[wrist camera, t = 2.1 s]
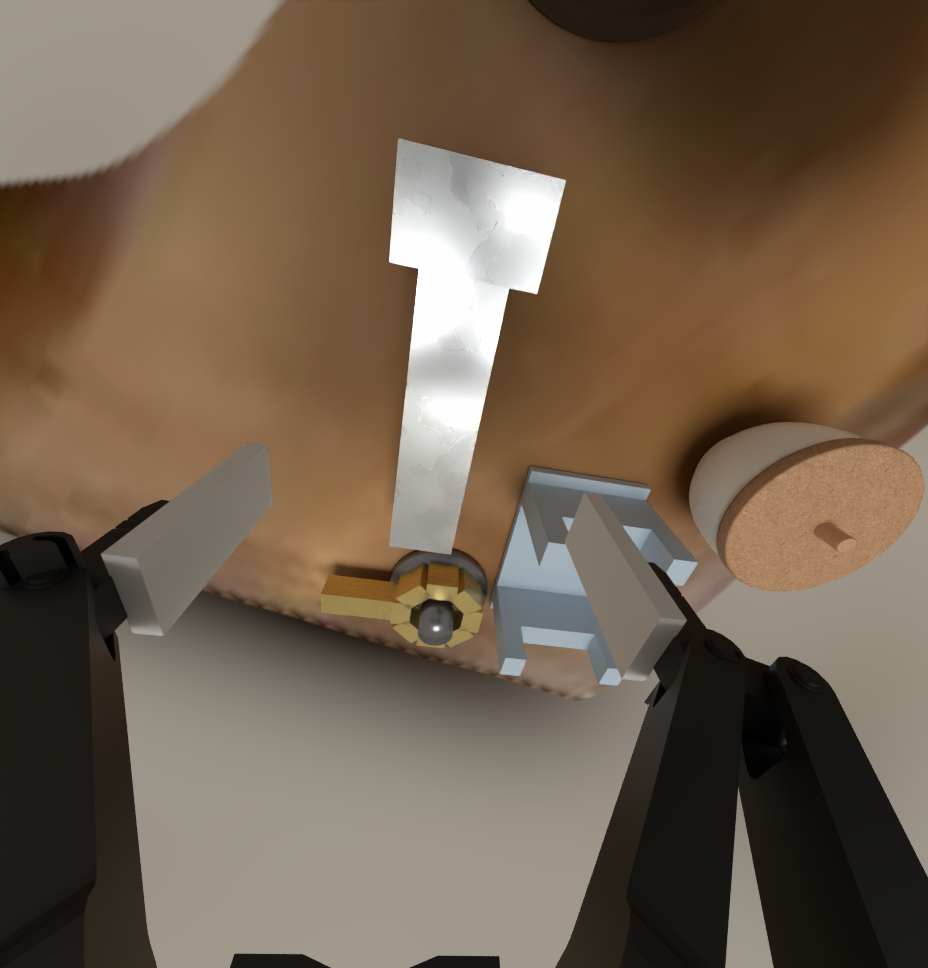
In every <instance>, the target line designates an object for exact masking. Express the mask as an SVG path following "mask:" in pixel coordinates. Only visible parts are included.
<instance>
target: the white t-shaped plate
mask: <svg viewBox="0 0 928 968" xmlns="http://www.w3.org/2000/svg"><path fill="white" fill-rule="evenodd" d="M565 183H566V180H563V179H559V178H555V177H551V176H547V175H543V174H539V173H535V172H531V171H527V170H523V169H519V168H515V167H511V166H508V165H504V164H500V163H496V162H492V161H488V160H484V159H480V158H476V157H472V156H468V155H464V154H460V153H456V152H452V151H448V150H444V149H440V148H436V147H432V146H428V145H424V144H420V143H416V142H412V141H408V140H404V139H400V138H398V147H397V161H396V175H395V188H394V202H393V216H392V230H391V244H390V258H389V262H390V263H394V264H398V265H403V266H407V267H412V268H416V269H419V273H418V282H417V291H416V301H415V310H414V319H413V329H412V338H411V347H410V356H409V366H408V375H407V384H406V394H405V403H404V412H403V421H402V431H401V440H400V449H399V459H398V468H397V477H396V487H395V496H394V505H393V514H392V524H391V533H390V542H389V546H392V547H399V548H406V549H414V550H421V551H428V552H435V553H443V554H450V555H451V552H452V547H453V543H454V538H455V534H456V529H457V525H458V520H459V515H460V511H461V506H462V502H463V497H464V493H465V488H466V484H467V479H468V474H469V470H470V465H471V461H472V456H473V452H474V447H475V442H476V438H477V433H478V429H479V424H480V420H481V415H482V411H483V406H484V401H485V397H486V392H487V388H488V383H489V379H490V374H491V370H492V365H493V360H494V356H495V351H496V347H497V342H498V338H499V333H500V328H501V324H502V319H503V315H504V310H505V306H506V301H507V297H508V292H509V289H514V290H518V291H523V292H528V293H533V294H537V293H538V289H539V285H540V281H541V277H542V273H543V269H544V265H545V261H546V257H547V254H548V250H549V246H550V242H551V238H552V234H553V230H554V226H555V222H556V218H557V214H558V210H559V206H560V202H561V199H562V195H563V191H564V187H565Z"/></svg>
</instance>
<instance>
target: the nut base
mask: <svg viewBox="0 0 928 968" xmlns="http://www.w3.org/2000/svg"><path fill="white" fill-rule="evenodd" d="M429 562H437V563H445V564H452V565H458V571H460V570H462V569H463V568H465V569H466V570H467V571H468V572H469V574H470V575H471V576H472V577H473V578H474V579H475V580H476V581H477V582H478V583H479V584H480V587H481V590H482V602H483V604H484V602H485V600H486V596H487V581H486V576H485V573H484V571H483V569H482V567H481V566H480V564H479V563H478V562H477V561H476V560H475V559H473V558H472V557H471V556H469V555H467V554H466V553H464V552H461V551H459V550H456V549H452V552H451V555H450V554H443V553H435V552H428V551H421V550H416V551H413V552H411V553H409V554H408V555H406V556H405V557H403V558H402V559H401V560H400V561H399V562H398V563H397V564H396V566H395V567H394V569H393V571H392V574H391V578H390V582H396V583H397V580H400V575H402V574H404V573H406V572H407V571H409V570H411V569H413V568H414V567H416V566H418V565H420V564H422V563H424V564H425V565H426V566H427V567H428V568H429ZM419 605H420V606H421V611H420V619H419V628H418V637H419V639H420V640H421V641H422V642H424V643H425V644H428V645H433V646H438V645H443V644H446V643H447V642H449V641H450V640H451V638H452V635H453V608H454V607H456V606H455V605H454V604H453V603H452V602H451V601H444V600H436V599H427V600H426V601H424V602H422V603H420V604H419Z"/></svg>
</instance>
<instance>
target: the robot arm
mask: <svg viewBox="0 0 928 968" xmlns="http://www.w3.org/2000/svg"><path fill="white" fill-rule="evenodd" d="M530 1H531V2H532V3H533V4H534V5H535V6H536V7H537V8H538V9H539V10H541V11H542V12H543V13H544V14H545V15H546V16H548V17H549V18H550V19H552V20H553V21H554V22H556V23H557V24H559V25H561V26H562V27H564V28H565V29H567V30H569V31H572V32H574V33H576V34H578V35H581V36H584V37H587V38H590V39H595V40H600V41H608V42H628V41H636V40H641V39H646V38H650V37H653V36H656V35H659V34H662V33H664V32H667V31H669V30H671V29H674V28H676V27H678V26H679V25H681V24H683V23H685V22H687V21H689V20H690V19H692V18H693V17H695V16H696V15H698V14H699V13H701V12H702V11H704V10H705V9H706V8H708V7H709V6H710V5H712V4H713V3H714V2H715V1H717V0H530ZM272 505H273V497H272V487H271V477H270V466H269V456H268V445H262V444H255V443H248V442H247V443H246V444H244V445H243V446H242V447H240V448H239V449H238V450H236V451H235V452H234V453H233V454H231V455H230V456H229V457H227V458H226V459H225V460H223V461H222V462H221V463H219V464H218V465H217V466H215V467H214V468H213V469H212V470H210V471H209V472H208V473H206V474H205V475H204V476H202V477H201V478H200V479H198V480H197V481H196V482H194V483H193V484H192V485H191V486H189V487H188V488H187V489H185V490H184V491H183V492H181V493H180V494H179V495H177V496H176V497H175V498H173V499H172V500H171V501H166V500H160V501H158V502H155V503H153V504H150V505H148V506H146V507H143V508H141V509H140V510H139V511H137V512H136V513H134V514H133V515H132V516H130V517H129V518H128V520H127V521H126V520H125V521H123V522H122V523H120V524H119V525H118V526H116V528H115V529H112V530H111V531H109V532H108V533H106V534H105V535H104V536H102V537H101V538H99V539H98V540H97V541H95V542H94V543H92V544H91V545H90V546H88V547H87V548H85V549H84V550H83V551H81V552H80V551H79V548H78V546H77V544H76V542H75V540H74V538H73V536H72V535H70V534H67V533H64V532H51V531H50V532H42V533H34V534H30V535H26V536H23V537H19V538H16V539H13V540H11V541H9V542H6V543H4V544H2V545H0V968H157V966H156V961H155V958H154V955H153V951H152V948H151V945H150V941H149V936H148V931H147V923H146V914H145V903H144V893H143V883H142V873H141V864H140V853H139V843H138V834H137V825H136V814H135V803H134V793H133V783H132V773H131V763H130V754H129V744H128V733H127V723H126V713H125V703H124V693H123V683H122V673H121V663H120V653H119V643H118V637H117V635H116V633H115V630H116V629H117V628H118V626H119V625H120V624H121V623H122V622H123V621H124V620H125V619H126V618H127V620H128V623H129V625H130V628H131V630H132V632H133V633H136V634H147V635H158V636H164V635H165V633H166V632H167V631H168V630H169V629H170V627H171V626H172V625H173V624H174V623H175V621H176V620H177V619H178V618H179V617H180V615H181V614H182V613H183V612H184V610H185V609H186V608H187V607H188V606H189V604H190V603H191V602H192V601H193V600H194V599H195V597H196V596H197V595H198V594H199V592H200V591H201V590H202V589H203V588H204V587H205V585H206V584H207V583H208V582H209V580H210V579H211V578H212V577H213V576H214V574H215V573H216V572H217V571H218V570H219V568H220V567H221V566H222V565H223V564H224V562H225V561H226V560H227V559H228V558H229V556H230V555H231V554H232V553H233V552H234V550H235V549H236V548H237V547H238V546H239V544H240V543H241V542H242V541H243V539H244V538H245V537H246V536H247V535H248V533H249V532H250V531H251V530H252V529H253V527H254V526H255V525H256V524H257V523H258V521H259V520H260V519H261V518H262V517H263V515H264V514H265V513H266V512H267V511H268V509H269V508H270V507H271V506H272ZM565 544H566V547H567V549H568V552H569V554H570V556H571V559H572V561H573V563H574V566H575V568H576V571H577V573H578V575H579V578H580V580H581V583H582V585H583V587H584V590H585V592H586V595H587V597H588V599H589V602H590V604H591V607H592V609H593V611H594V614H595V616H596V619H597V621H598V623H599V626H600V628H601V631H602V633H603V635H604V638H605V640H606V643H607V645H608V647H609V650H610V652H611V655H612V657H613V659H614V662H615V664H616V666H617V669H618V671H619V674H620V676H621V678H622V679H628V680H639V681H645V680H646V679H647V677H648V676H649V675H650V673H651V672H652V670H653V669H654V670H655V672H656V674H657V676H658V678H659V680H660V681H659V683H658V684H657V685H656V687H655V688H654V690H653V691H652V692H651V694H650V695H649V696H648V698H647V699H646V701H645V703H646V704H649V703H650V704H649V707H648V710H647V713H646V715H645V718H644V721H643V724H642V727H641V730H640V734H639V736H638V739H637V742H636V746H635V748H634V752H633V754H632V757H631V761H630V763H629V766H628V769H627V772H626V775H625V778H624V781H623V784H622V787H621V790H620V793H619V796H618V799H617V802H616V805H615V808H614V811H613V814H612V817H611V820H610V823H609V826H608V828H607V831H606V835H605V837H604V841H603V843H602V846H601V850H600V852H599V856H598V858H597V861H596V864H595V867H594V870H593V874H592V876H591V879H590V882H589V885H588V888H587V891H586V894H585V897H584V900H583V903H582V906H581V909H580V912H579V915H578V918H577V921H576V924H575V927H574V930H573V932H572V935H571V938H570V940H569V942H568V945H567V947H566V949H565V951H564V953H563V954H562V956H561V958H560V960H559V961H558V963H557V966H556V968H725V962H726V948H727V934H728V920H729V905H730V892H731V878H732V863H733V849H734V837H735V836H734V835H735V823H736V809H737V794H738V787H739V792H740V797H741V802H742V807H743V812H744V817H745V822H746V827H747V833H748V838H749V843H750V848H751V853H752V859H753V864H754V869H755V874H756V879H757V884H758V889H759V894H760V899H761V905H762V910H763V915H764V920H765V925H766V930H767V936H768V941H769V945H770V951H771V956H772V961H773V966H774V968H928V877H927V875H926V873H925V871H924V869H923V867H922V865H921V863H920V861H919V859H918V857H917V855H916V853H915V851H914V849H913V847H912V845H911V843H910V841H909V839H908V837H907V835H906V833H905V831H904V829H903V827H902V825H901V823H900V822H899V819H898V817H897V815H896V813H895V812H894V810H893V808H892V805H891V803H890V801H889V799H888V798H887V795H886V794H885V792H884V790H883V788H882V786H881V784H880V782H879V780H878V778H877V776H876V774H875V772H874V770H873V768H872V766H871V764H870V762H869V760H868V758H867V756H866V754H865V752H864V750H863V748H862V746H861V744H860V742H859V740H858V738H857V736H856V734H855V732H854V730H853V728H852V726H851V724H850V722H849V720H848V718H847V716H846V714H845V712H844V710H843V708H842V706H841V704H840V702H839V700H838V698H837V696H836V694H835V692H834V691H833V689H832V688H831V686H830V685H829V683H827V682H826V680H825V679H823V678H822V677H821V676H820V674H819V673H817V672H816V671H815V670H813V669H812V668H811V667H809V666H807V665H805V664H803V663H801V662H799V661H797V660H795V659H792V658H789V657H779V658H778V659H777V660H776V661H775V662H774V663H773V664H772V665H771V666H768V665H765V664H762V663H760V662H757V661H754V660H751V659H748V658H746V657H745V656H744V655H743V653H742V652H741V650H740V649H739V648H738V647H737V646H736V645H735V644H734V643H733V642H732V641H731V640H729V639H728V638H726V637H725V636H723V635H722V634H720V633H717V632H715V631H713V630H709V629H706V627H705V626H704V624H703V623H702V622H701V620H700V619H699V618H698V616H697V615H696V613H695V612H694V611H693V609H692V608H691V606H690V605H689V604H688V602H687V601H686V600H685V598H684V597H683V596H681V595H682V594H681V593H680V591H679V590H678V588H677V587H675V584H674V583H673V582H672V580H671V579H670V577H669V576H668V575H667V573H666V572H664V571H663V570H662V569H661V568H660V567H659V566H657V565H656V564H655V563H652V562H647V561H646V559H645V558H644V557H643V555H642V554H641V552H640V551H639V549H638V548H637V546H636V545H635V543H634V542H633V540H632V539H631V538H630V536H629V535H628V533H627V532H626V530H625V529H624V527H623V526H622V524H621V523H620V521H619V520H618V519H617V517H616V516H615V514H614V513H613V511H612V510H611V508H610V507H609V505H608V504H607V502H606V501H605V499H604V498H603V497H602V495H600V494H593V493H587V492H584V494H583V497H582V499H581V502H580V505H579V507H578V510H577V512H576V515H575V517H574V520H573V522H572V525H571V527H570V530H569V532H568V535H567V538H566V540H565ZM499 962H500V961H499V956H436V957H434V958H432V959H429V960H427V961H425V962H422V963H420V964H418V965H415V966H413V967H410V968H500V963H499ZM230 968H330V967H328V966H326V965H324V964H322V963H320V962H318V961H316V960H314V959H312V958H310V957H307V956H305V955H303V954H234V957H233V961H232V963H231V966H230Z"/></svg>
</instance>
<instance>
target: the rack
mask: <svg viewBox="0 0 928 968" xmlns="http://www.w3.org/2000/svg"><path fill="white" fill-rule="evenodd" d="M650 491H651V489H650V488H649V486H648V485H647V484H641V483H635V482H628V481H622V480H615V479H609V478H603V477H596V476H590V475H583V474H577V473H571V472H564V471H558V470H551V469H545V468H539V467H532V466H530V468H529V471H528V475H527V478H526V481H525V485H524V488H523V491H522V495H521V498H520V501H519V505H518V508H517V511H516V515H515V518H514V521H513V525H512V528H511V531H510V535H509V538H508V541H507V545H506V548H505V551H504V555H503V558H502V561H501V565H500V568H499V571H498V575H497V578H496V581H495V585H494V588H493V591H492V595H491V598H490V601H489V602H490V608H492V609H493V613H494V623H495V633H496V643H497V653H498V663H499V673H500V674H505V675H516V676H520V674H521V672H522V670H523V667H524V665H525V662H526V654H525V648H524V643H530V644H540V645H549V646H558V647H567V648H577V649H586V650H587V651H588V654H589V657H590V660H591V663H592V666H593V669H594V672H595V675H596V678H597V681H598V683H599V684H607V685H618V684H619V683H620V681H621V680H622V678H621V676H620V674H619V671H618V669H617V666H616V664H615V662H614V659H613V657H612V655H611V652H610V650H609V647H608V645H607V643H606V640H605V638H604V635H603V633H602V631H601V628H600V626H599V623H598V621H597V619H596V616H595V614H594V611H593V609H592V607H591V604H590V602H589V599H588V597H587V595H586V592H585V590H584V587H583V585H582V583H581V580H580V578H579V575H578V573H577V571H576V568H575V566H574V563H573V561H572V559H571V556H570V554H569V552H568V549H567V547H566V544H565V540H566V538H567V535H568V532H569V530H570V527H571V525H572V522H573V520H574V517H575V515H576V512H577V510H578V507H579V505H580V502H581V499H582V497H583V494H584V492H587V493H593V494H600V495H602V497H603V498H604V499H605V501H606V502H607V504H608V505H609V507H610V508H611V510H612V511H613V513H614V514H615V516H616V517H617V519H618V520H619V521H620V523H621V524H622V526H623V527H624V529H625V530H626V532H627V533H628V535H629V536H630V538H631V539H632V540H633V542H634V543H635V545H636V546H637V548H638V549H639V551H640V552H641V554H642V555H643V557H644V558H645V559H646V561H647V562H652V563H655V564H656V565H657V566H659V567H660V568H661V569H662V570H663V571H664V572H666V573H667V575H668V576H669V577H670V579H671V580H672V582H673V583H674V584H675V585H680V586H683V585H684V584H685V582H686V581H687V579H688V578H689V576H690V575H691V573H692V571H693V570H694V568H695V567H696V565H697V564H698V562H697V560H696V559H695V558H694V557H693V556H692V554H691V553H690V552H689V551H688V550H687V549H686V547H685V546H684V545H683V544H682V543H681V541H680V540H679V539H678V538H677V537H676V535H675V534H674V533H673V532H672V531H671V530H670V528H669V527H668V526H667V525H666V524H665V522H664V521H663V520H662V519H661V518H660V516H659V515H658V514H657V513H656V512H655V511H654V509H653V508H652V507H651V506H650V505H649V503H648V502H647V501H646V499H647V497H648V495H649V493H650Z"/></svg>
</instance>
